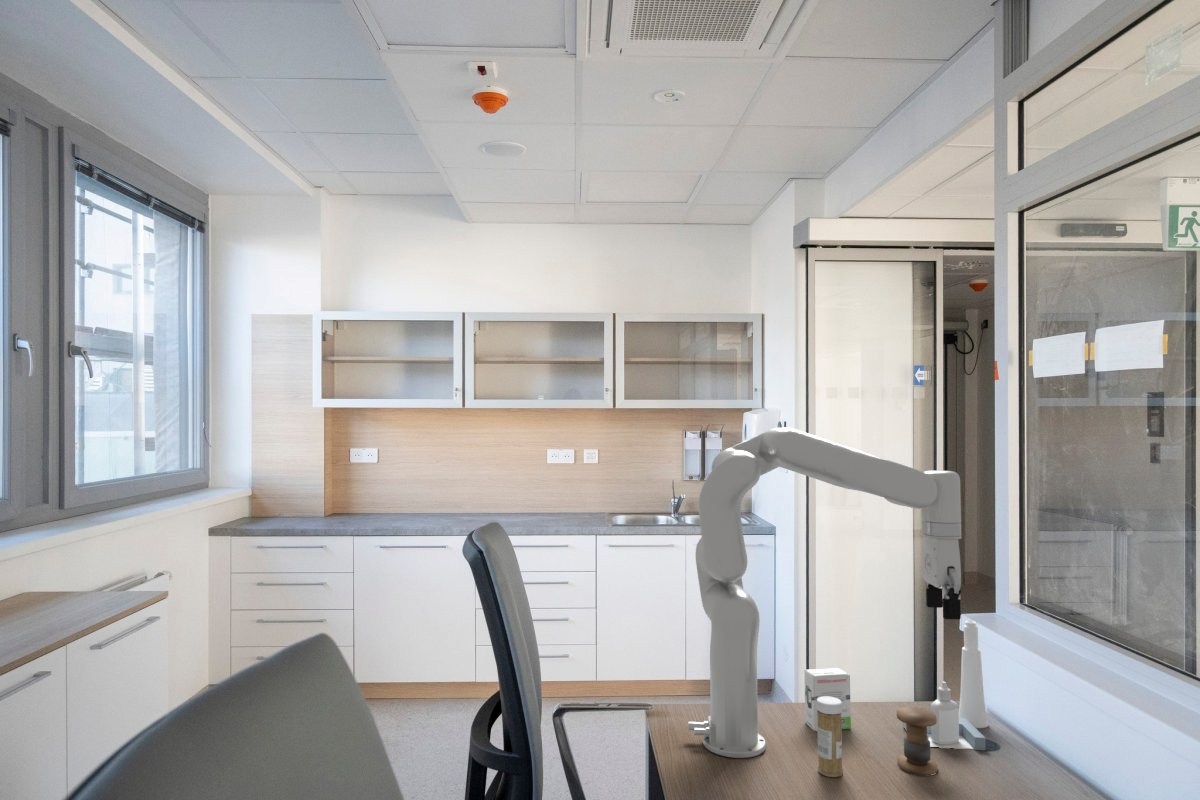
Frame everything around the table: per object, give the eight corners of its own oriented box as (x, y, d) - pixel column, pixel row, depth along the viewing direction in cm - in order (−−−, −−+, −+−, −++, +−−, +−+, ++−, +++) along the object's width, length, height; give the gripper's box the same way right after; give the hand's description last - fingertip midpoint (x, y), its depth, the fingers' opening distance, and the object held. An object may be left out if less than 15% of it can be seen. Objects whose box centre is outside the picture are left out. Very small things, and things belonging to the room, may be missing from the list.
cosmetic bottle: (961, 727, 156) (959, 624, 157) (954, 716, 162) (952, 617, 163) (992, 729, 155) (989, 626, 156) (983, 718, 160) (981, 619, 161)
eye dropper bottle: (963, 747, 146) (961, 686, 146) (933, 744, 147) (932, 684, 147) (956, 738, 150) (955, 679, 151) (928, 735, 151) (926, 677, 152)
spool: (904, 774, 134) (903, 720, 135) (892, 758, 141) (892, 706, 142) (943, 776, 134) (942, 721, 134) (930, 759, 140) (929, 707, 141)
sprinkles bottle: (847, 776, 134) (846, 703, 134) (825, 779, 132) (824, 705, 133) (834, 765, 138) (833, 694, 139) (812, 768, 137) (811, 696, 138)
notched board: (918, 747, 146) (917, 734, 146) (902, 727, 156) (902, 715, 156) (985, 750, 145) (985, 737, 145) (965, 729, 155) (965, 718, 155)
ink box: (840, 720, 160) (839, 666, 160) (851, 729, 155) (851, 673, 155) (804, 722, 158) (803, 668, 159) (814, 732, 154) (813, 675, 154)
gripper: (909, 524, 160) (910, 602, 159) (937, 535, 142) (939, 623, 142) (944, 524, 159) (946, 603, 158) (977, 536, 142) (979, 624, 141)
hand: (942, 612), depth 150 cm, fingers open, 9 cm apart
